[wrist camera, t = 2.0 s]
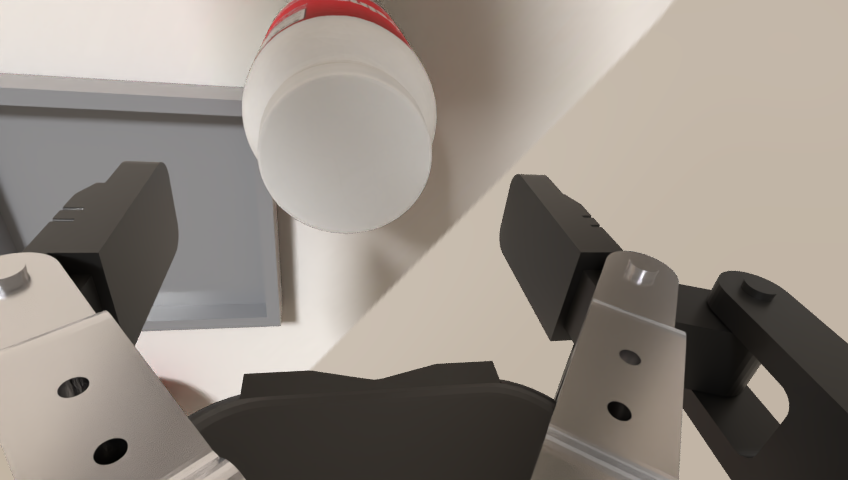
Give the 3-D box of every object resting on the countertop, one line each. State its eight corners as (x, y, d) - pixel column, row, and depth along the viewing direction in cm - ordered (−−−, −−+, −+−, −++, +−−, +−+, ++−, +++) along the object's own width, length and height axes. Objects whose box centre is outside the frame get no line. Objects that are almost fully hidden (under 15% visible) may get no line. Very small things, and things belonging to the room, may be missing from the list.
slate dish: (-69, 69, 19) (-100, 82, 18) (269, 89, 22) (265, 101, 21) (35, 312, 27) (19, 335, 25) (282, 305, 29) (280, 325, 28)
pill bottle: (430, 67, 23) (501, 168, 14) (335, 149, 24) (344, 289, 15) (337, -52, 20) (352, -20, 11) (234, 51, 21) (170, 156, 12)
